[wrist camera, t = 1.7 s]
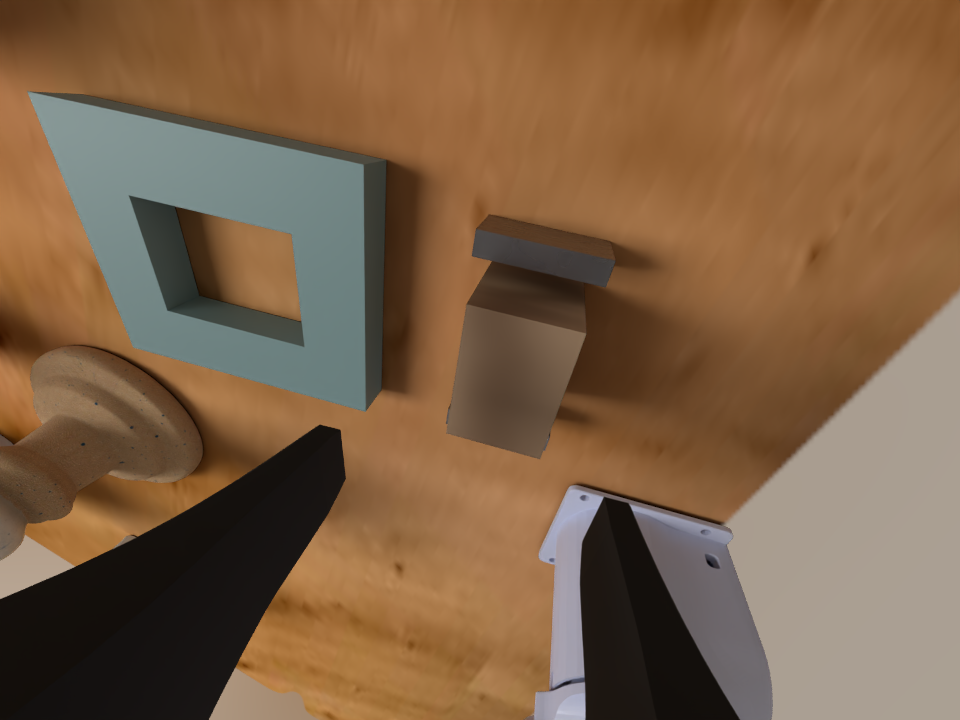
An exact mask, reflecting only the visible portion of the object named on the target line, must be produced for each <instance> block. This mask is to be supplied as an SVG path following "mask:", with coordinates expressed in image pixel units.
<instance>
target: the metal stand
mask: <svg viewBox="0 0 960 720" xmlns="http://www.w3.org/2000/svg"><path fill="white" fill-rule="evenodd" d="M472 256H473V257H477V258H482V259H486V260H490V261H495V262H499V263H503V264H507V265H512V266H516V267H520V268H525V269H529V270H533V271H537V272H542V273H546V274H550V275H555V276H559V277H563V278H567V279H572V280H576V281H580V282H585V283H589V284H593V285H597V286H602V287H606V286H607V283H608V280H609V278H610V275H611V272H612V270H613V267H614V264H615V261H616V260H615V256H614V253H613V249H612V246H611V242H610V241H605V240H601V239H596V238H592V237H587V236H583V235H579V234H574V233H570V232H565V231H561V230H556V229H552V228H547V227H543V226H538V225H534V224H529V223H525V222H520V221H516V220H511V219H507V218H502V217H498V216H493V215H488V216H487V218H486V219H485V220H484V221H483V222H482V223H481V224H480V225H479V226H478V227H477V228H476V232H475V239H474V245H473V252H472ZM450 406H451V404H450ZM450 406H449V408H448V414H447V421H446V424H448V419H449V413H450ZM549 438H550V434H549V436H548V439H547V442H546V444H545V447H544V451H545V449H546V446H547V443H548V441H549Z"/></svg>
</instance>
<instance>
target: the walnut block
mask: <svg viewBox="0 0 960 720" xmlns="http://www.w3.org/2000/svg"><path fill="white" fill-rule="evenodd" d="M586 334H587V333H586V314H585V295H584V282H580V281H576V280H572V279H567V278H563V277H559V276H555V275H550V274H546V273H542V272H537V271H533V270H529V269H525V268H520V267H516V266H512V265H507V264H503V263H499V262H495V261H492V262H491V264H490V266H489V267H488V269H487V271H486V272H485V274H484V276H483V277H482V279H481V281H480V282H479V284H478V286H477V288H476V289H475V291H474V293H473V294H472V296H471V298H470V299H469V301H468V303H467V305H466V311H465V318H464V324H463V330H462V337H461V343H460V349H459V356H458V362H457V368H456V375H455V381H454V387H453V394H452V400H451V406H450V413H449V419H448V425H447V432H446V433H447V434H451V435H454V436H458V437H462V438H465V439H469V440H472V441H476V442H480V443H483V444H487V445H491V446H494V447H498V448H501V449H505V450H509V451H512V452H516V453H519V454H523V455H527V456H530V457H534V458H537V459H540V458H541V455H542V452H543V450H544V447H545V444H546V442H547V439H548V436H549V434H550V431H551V428H552V426H553V423H554V420H555V417H556V415H557V412H558V409H559V407H560V404H561V401H562V399H563V396H564V393H565V390H566V388H567V385H568V382H569V380H570V377H571V374H572V372H573V369H574V366H575V363H576V361H577V358H578V355H579V353H580V350H581V347H582V345H583V342H584V339H585V337H586Z"/></svg>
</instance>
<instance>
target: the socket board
mask: <svg viewBox="0 0 960 720" xmlns="http://www.w3.org/2000/svg"><path fill="white" fill-rule="evenodd" d="M27 92H28V94H29V97H30V99H31V102H32V104H33V106H34V109H35V111H36V114H37V116H38V119H39V121H40V123H41V126H42V128H43V131H44V133H45V135H46V138H47V140H48V143H49V145H50V147H51V150H52V152H53V155H54V157H55V160H56V162H57V164H58V167H59V169H60V172H61V174H62V176H63V179H64V181H65V184H66V186H67V188H68V191H69V193H70V196H71V198H72V200H73V203H74V205H75V208H76V210H77V213H78V215H79V217H80V220H81V222H82V225H83V227H84V229H85V232H86V234H87V237H88V239H89V241H90V244H91V246H92V249H93V251H94V254H95V256H96V258H97V261H98V263H99V266H100V268H101V270H102V273H103V275H104V278H105V280H106V282H107V285H108V287H109V290H110V292H111V294H112V297H113V299H114V302H115V304H116V307H117V309H118V311H119V314H120V316H121V319H122V321H123V323H124V326H125V328H126V331H127V333H128V335H129V338H130V340H131V343H132V345H133V347H134V348H137V349H141V350H144V351H148V352H152V353H155V354H159V355H162V356H166V357H170V358H173V359H177V360H181V361H184V362H188V363H191V364H195V365H199V366H202V367H206V368H209V369H213V370H217V371H220V372H224V373H228V374H231V375H235V376H238V377H242V378H246V379H249V380H253V381H256V382H260V383H264V384H267V385H271V386H275V387H278V388H282V389H285V390H289V391H293V392H296V393H300V394H303V395H307V396H311V397H314V398H318V399H322V400H325V401H329V402H332V403H336V404H340V405H343V406H347V407H350V408H354V409H358V410H361V411H365V412H366V411H367V409H368V408H369V406H370V405H371V404H372V402H373V401H374V399H375V398H376V397H377V395H378V394H379V392H380V391H381V387H382V341H383V294H384V248H385V202H386V160H385V159H380V158H375V157H371V156H366V155H361V154H357V153H352V152H348V151H343V150H338V149H334V148H329V147H324V146H320V145H315V144H310V143H306V142H301V141H297V140H292V139H287V138H283V137H278V136H273V135H269V134H264V133H259V132H255V131H250V130H245V129H241V128H236V127H232V126H227V125H222V124H218V123H213V122H208V121H204V120H199V119H194V118H190V117H185V116H180V115H176V114H171V113H167V112H162V111H157V110H153V109H148V108H143V107H139V106H134V105H129V104H125V103H120V102H116V101H111V100H106V99H102V98H97V97H92V96H88V95H83V94H67V93H48V92H29V91H27ZM175 206H176V207H180V208H184V209H188V210H193V211H197V212H201V213H205V214H209V215H214V216H218V217H222V218H226V219H230V220H235V221H239V222H243V223H247V224H251V225H256V226H260V227H264V228H268V229H272V230H277V231H281V232H285V233H289V234H292V242H293V251H294V259H295V268H296V277H297V285H298V294H299V303H300V312H301V320H302V322H298V321H294V320H291V319H287V318H283V317H279V316H275V315H271V314H267V313H264V312H260V311H256V310H252V309H248V308H244V307H240V306H237V305H233V304H229V303H225V302H221V301H217V300H213V299H210V298H206V297H202V296H199V293H198V289H197V286H196V282H195V278H194V275H193V271H192V268H191V264H190V260H189V257H188V253H187V249H186V246H185V242H184V238H183V235H182V231H181V228H180V224H179V220H178V217H177V213H176V209H175Z"/></svg>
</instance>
